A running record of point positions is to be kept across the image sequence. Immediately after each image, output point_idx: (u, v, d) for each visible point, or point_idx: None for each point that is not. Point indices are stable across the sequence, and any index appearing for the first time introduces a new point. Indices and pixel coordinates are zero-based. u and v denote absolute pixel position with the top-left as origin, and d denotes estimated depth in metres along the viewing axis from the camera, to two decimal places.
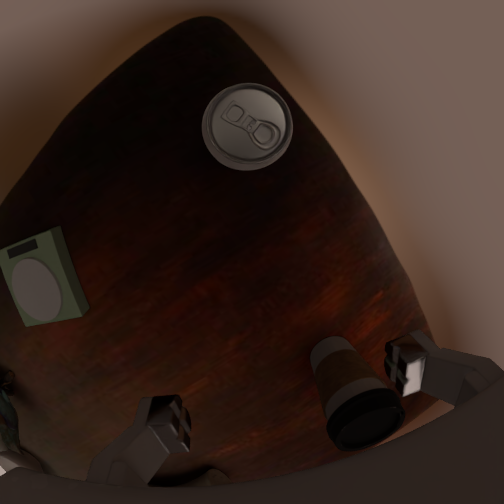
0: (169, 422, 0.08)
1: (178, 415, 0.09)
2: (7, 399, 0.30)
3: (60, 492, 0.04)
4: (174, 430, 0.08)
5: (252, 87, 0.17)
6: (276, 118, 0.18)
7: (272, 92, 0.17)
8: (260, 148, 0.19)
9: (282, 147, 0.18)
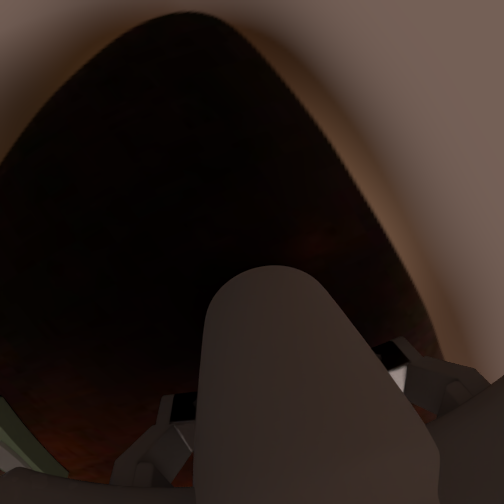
0: (194, 419, 0.08)
1: None
2: None
3: (60, 492, 0.04)
4: None
5: None
6: None
7: (437, 502, 0.03)
8: None
9: None
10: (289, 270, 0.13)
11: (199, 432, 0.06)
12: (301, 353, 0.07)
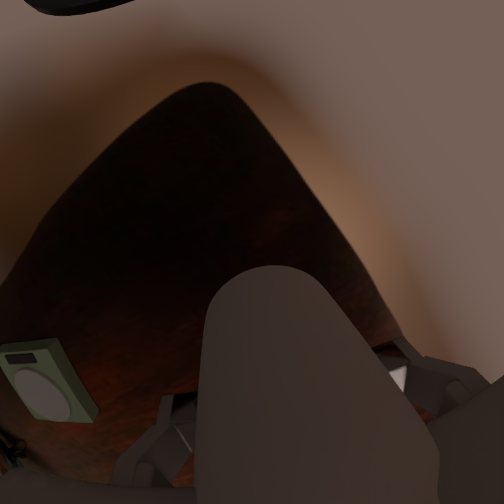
0: (194, 419, 0.08)
1: None
2: None
3: (60, 492, 0.04)
4: None
5: None
6: None
7: (436, 501, 0.03)
8: None
9: None
10: (289, 270, 0.13)
11: (200, 432, 0.06)
12: (301, 353, 0.07)
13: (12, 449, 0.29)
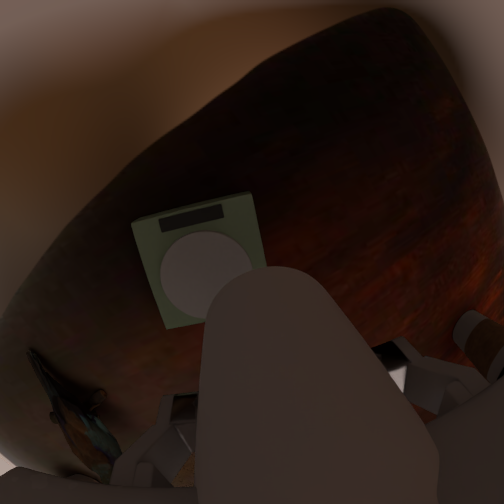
0: (194, 420, 0.08)
1: None
2: (105, 428, 0.28)
3: (60, 492, 0.04)
4: None
5: None
6: None
7: (437, 503, 0.03)
8: None
9: None
10: (290, 271, 0.13)
11: (200, 433, 0.06)
12: (302, 355, 0.07)
13: None
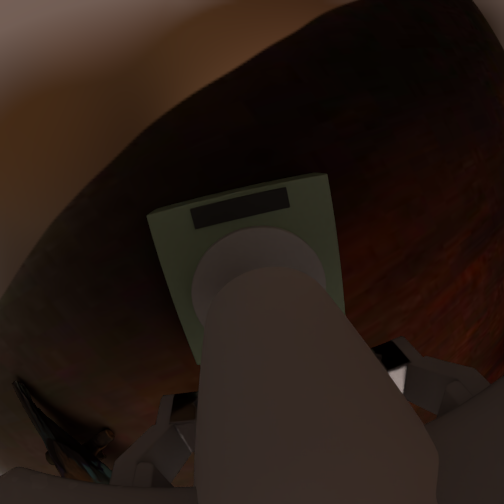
0: (194, 419, 0.08)
1: None
2: None
3: (60, 492, 0.04)
4: None
5: None
6: None
7: (436, 503, 0.03)
8: None
9: None
10: (289, 271, 0.13)
11: (200, 434, 0.06)
12: (302, 355, 0.07)
13: (86, 447, 0.22)
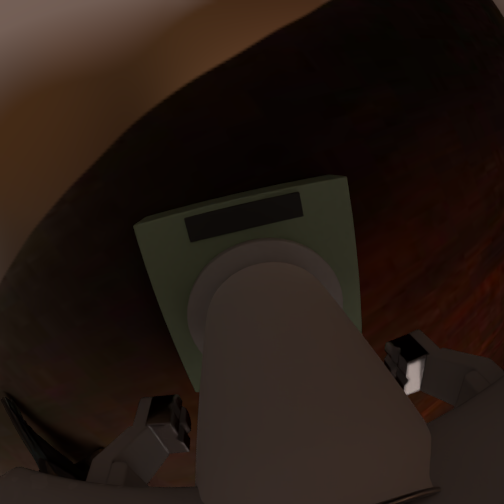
0: (169, 422, 0.08)
1: (178, 415, 0.09)
2: None
3: (60, 492, 0.04)
4: (174, 430, 0.08)
5: (377, 499, 0.03)
6: None
7: (429, 482, 0.03)
8: None
9: None
10: (288, 266, 0.13)
11: (202, 417, 0.07)
12: (298, 341, 0.07)
13: (80, 467, 0.20)
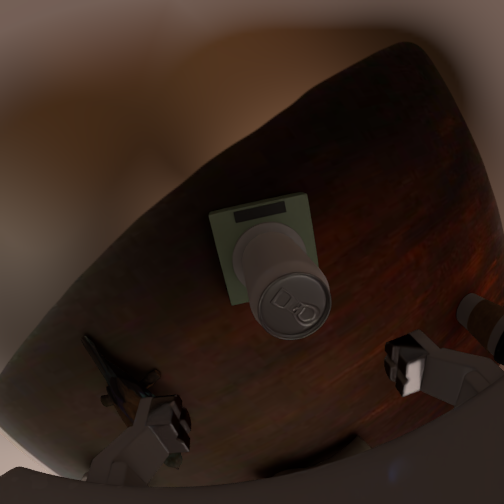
0: (169, 422, 0.08)
1: (178, 415, 0.09)
2: None
3: (60, 492, 0.04)
4: (174, 430, 0.08)
5: (299, 274, 0.21)
6: (318, 300, 0.22)
7: (316, 277, 0.21)
8: (302, 325, 0.22)
9: (320, 325, 0.22)
10: (279, 233, 0.31)
11: (250, 273, 0.25)
12: (280, 248, 0.25)
13: None
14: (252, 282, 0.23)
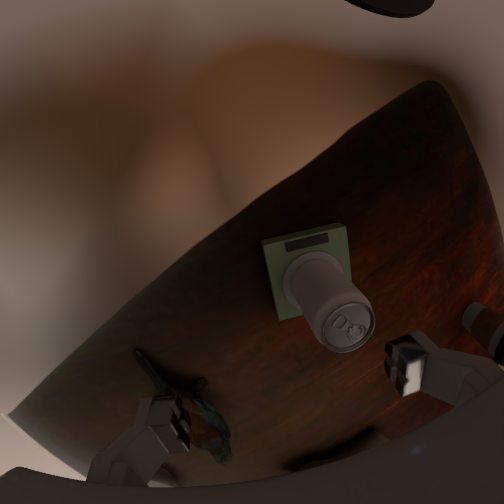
0: (169, 422, 0.08)
1: (178, 415, 0.09)
2: (212, 408, 0.40)
3: (60, 492, 0.04)
4: (174, 430, 0.08)
5: (354, 303, 0.26)
6: (365, 322, 0.27)
7: (366, 305, 0.26)
8: (352, 341, 0.27)
9: (366, 340, 0.27)
10: (324, 261, 0.36)
11: (310, 300, 0.30)
12: (333, 279, 0.30)
13: None
14: (314, 309, 0.28)
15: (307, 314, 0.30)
